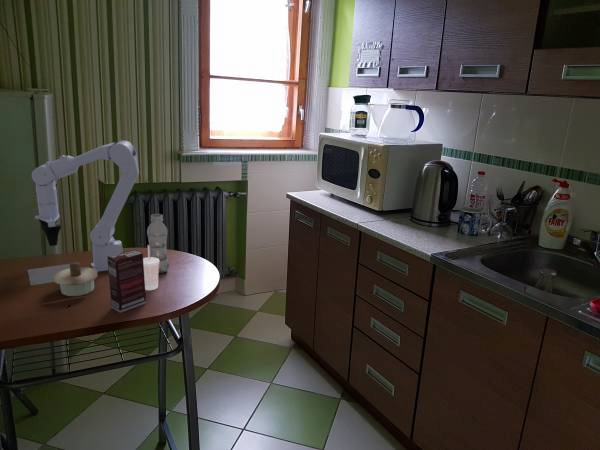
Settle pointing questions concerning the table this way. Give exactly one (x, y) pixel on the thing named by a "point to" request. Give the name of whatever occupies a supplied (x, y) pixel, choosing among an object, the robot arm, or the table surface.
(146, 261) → the beverage cup
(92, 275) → the board
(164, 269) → the plastic bottle
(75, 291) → the bowl
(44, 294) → the table surface
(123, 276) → the supplement box
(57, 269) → the mat
